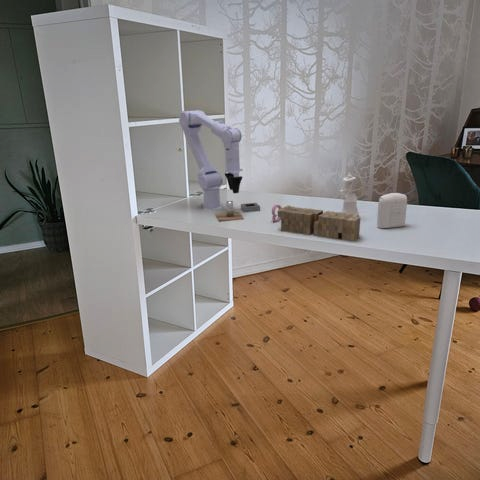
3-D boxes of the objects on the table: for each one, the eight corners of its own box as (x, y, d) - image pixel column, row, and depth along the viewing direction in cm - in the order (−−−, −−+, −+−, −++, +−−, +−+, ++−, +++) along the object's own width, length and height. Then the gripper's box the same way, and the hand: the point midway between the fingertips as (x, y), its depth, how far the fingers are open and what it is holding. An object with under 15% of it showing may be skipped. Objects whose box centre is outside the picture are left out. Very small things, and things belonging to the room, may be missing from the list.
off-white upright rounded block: (400, 223, 161) (402, 190, 157) (406, 226, 157) (409, 193, 153) (375, 226, 159) (376, 193, 155) (381, 229, 155) (383, 195, 151)
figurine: (336, 216, 174) (338, 172, 168) (356, 215, 174) (358, 170, 168) (342, 221, 167) (343, 175, 161) (362, 220, 167) (365, 173, 162)
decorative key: (301, 219, 183) (273, 222, 169) (299, 218, 184) (270, 222, 169) (303, 203, 182) (274, 205, 167) (300, 202, 183) (272, 204, 168)
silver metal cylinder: (225, 215, 178) (224, 201, 177) (231, 214, 179) (231, 200, 178) (228, 217, 176) (227, 202, 174) (234, 216, 177) (234, 201, 175)
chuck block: (240, 209, 191) (240, 204, 190) (256, 208, 192) (256, 202, 192) (244, 213, 184) (244, 207, 184) (260, 211, 186) (260, 206, 185)
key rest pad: (215, 216, 182) (215, 214, 181) (238, 214, 184) (238, 212, 183) (219, 222, 172) (219, 220, 172) (243, 220, 174) (243, 218, 174)
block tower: (361, 238, 150) (287, 225, 166) (363, 215, 148) (287, 203, 163) (353, 245, 144) (277, 230, 160) (355, 220, 142) (277, 208, 157)
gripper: (245, 160, 173) (247, 193, 177) (238, 156, 186) (239, 187, 191) (228, 161, 172) (230, 195, 176) (222, 157, 185) (223, 188, 189)
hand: (234, 191), depth 183 cm, fingers open, 7 cm apart
